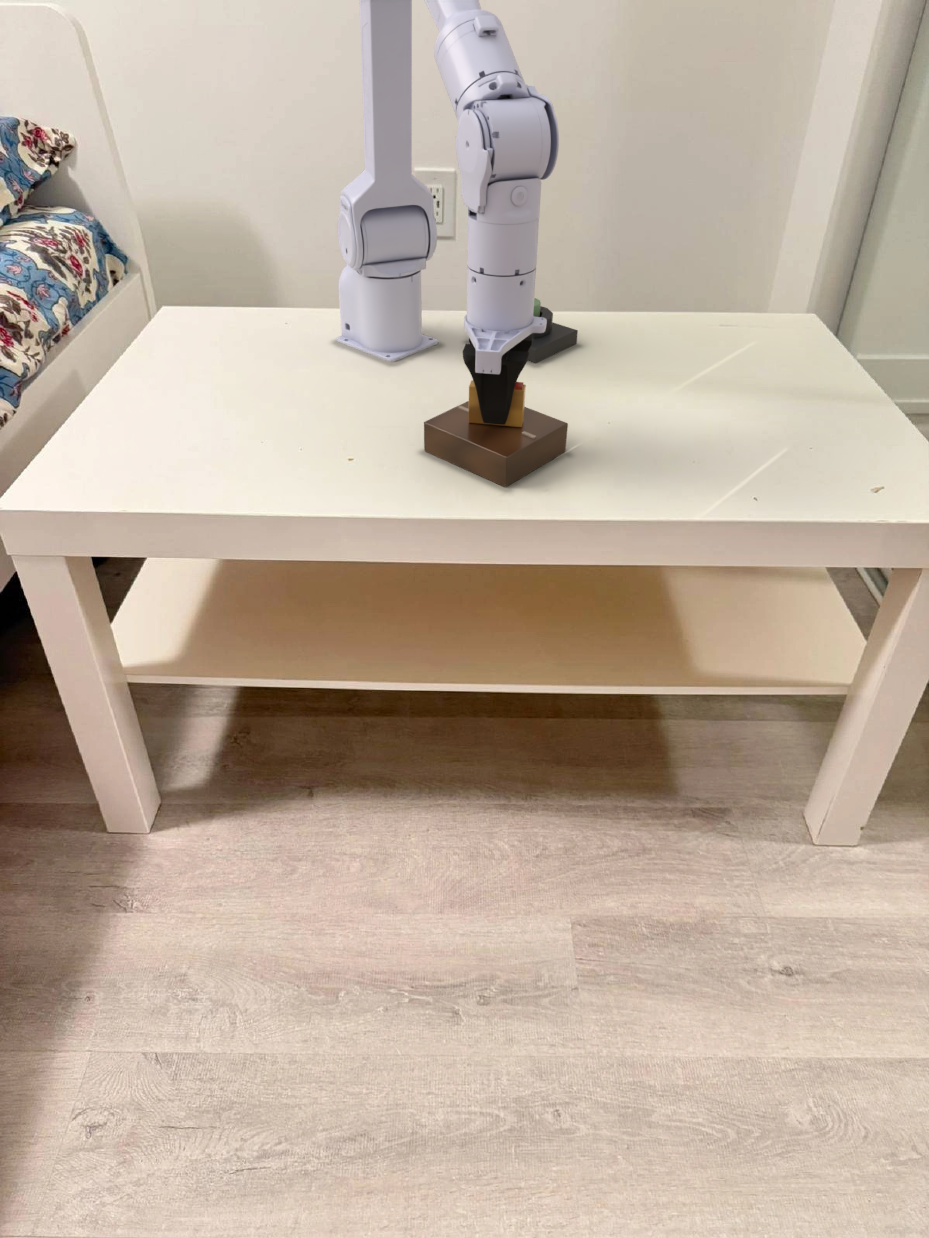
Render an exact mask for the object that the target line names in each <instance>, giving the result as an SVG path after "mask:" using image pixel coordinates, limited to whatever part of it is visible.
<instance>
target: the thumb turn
mask: <svg viewBox="0 0 929 1238" xmlns="http://www.w3.org/2000/svg"><path fill="white" fill-rule="evenodd" d="M526 386H527V385H526V384H525V383H524V381H517V382H516V384H515V387H514V392H513V397H512V402H511V407H510V411H509V415H508V418H507V421H506V423H505V424H504V425H502V424H490V423H484V422H483V420H482V416H481V412H480V407H479V401H478V396H477V391H476V387H475V384H474V381H473V379H472V380H470V383H469V385H468V401H469V413H468V422H469V423H477V424H489V425H501V426H512V427H522V425H523V421H524V407H526V406H525V403H526Z"/></svg>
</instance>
